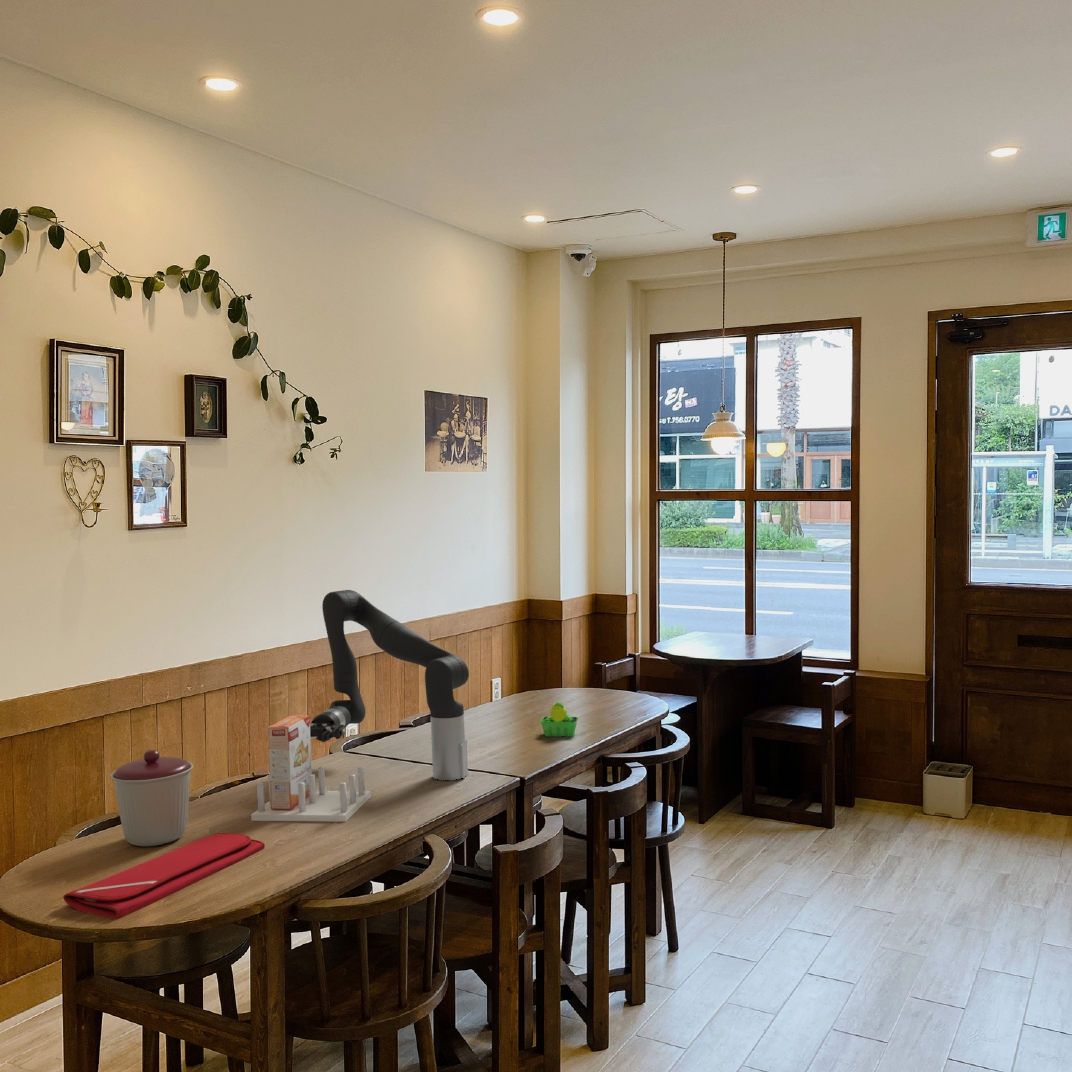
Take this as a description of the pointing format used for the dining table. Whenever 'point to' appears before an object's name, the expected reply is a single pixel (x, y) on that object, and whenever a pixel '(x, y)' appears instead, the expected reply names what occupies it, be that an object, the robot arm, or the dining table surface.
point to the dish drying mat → (162, 875)
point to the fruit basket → (559, 722)
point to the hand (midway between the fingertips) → (307, 738)
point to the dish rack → (317, 801)
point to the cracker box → (289, 760)
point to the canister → (153, 798)
